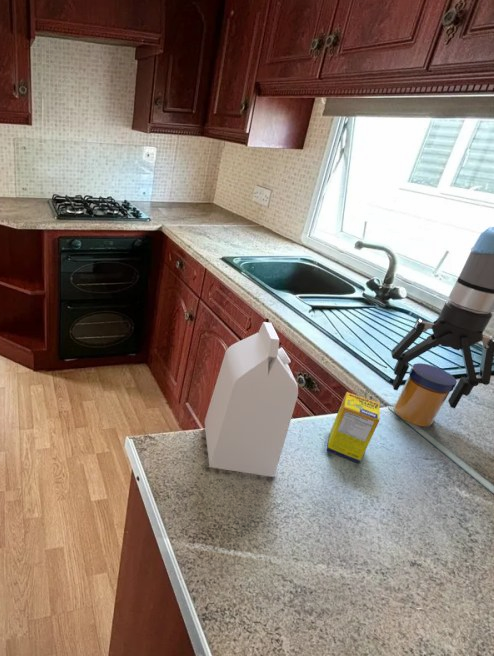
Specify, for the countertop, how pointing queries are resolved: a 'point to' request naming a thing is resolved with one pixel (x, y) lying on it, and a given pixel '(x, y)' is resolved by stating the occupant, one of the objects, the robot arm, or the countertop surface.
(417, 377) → the lid
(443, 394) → the jar
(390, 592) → the countertop surface
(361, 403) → the supplement box
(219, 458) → the milk
